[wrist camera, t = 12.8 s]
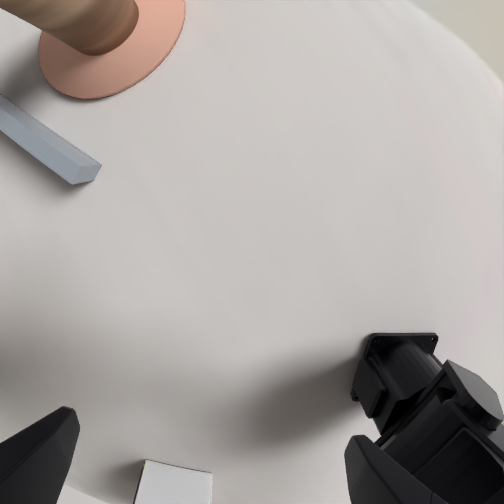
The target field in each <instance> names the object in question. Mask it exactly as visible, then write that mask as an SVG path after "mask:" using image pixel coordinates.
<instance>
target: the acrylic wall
mask: <svg viewBox="0 0 504 504" xmlns="http://www.w3.org/2000/svg"><path fill="white" fill-rule="evenodd" d="M0 130H1V131H2V132H3V133H4V134H6V135H7V136H8V137H10V138H11V139H12V140H13V141H15V142H16V143H17V144H18V145H20V146H21V147H22V148H24V149H25V150H26V151H28V152H29V153H30V154H31V155H33V156H34V157H35V158H37V159H38V160H39V161H41V162H42V163H43V164H45V165H46V166H47V167H49V168H50V169H51V170H53V171H54V172H55V173H57V174H58V175H59V176H61V177H62V178H63V179H65V180H66V181H67V182H69V183H70V184H77V183H83V182H88V181H93V180H94V179H95V177H96V175H97V173H98V171H99V169H100V167H101V166H102V165H101V164H100V163H98V162H97V161H95V160H94V159H93V158H91V157H90V156H88V155H87V154H85V153H84V152H82V151H81V150H79V149H78V148H77V147H75V146H74V145H72V144H71V143H69V142H68V141H66V140H65V139H63V138H62V137H61V136H59V135H58V134H56V133H55V132H53V131H52V130H50V129H49V128H48V127H46V126H45V125H43V124H42V123H40V122H39V121H38V120H36V119H35V118H33V117H32V116H30V115H29V114H27V113H26V112H25V111H23V110H22V109H20V108H19V107H17V106H16V105H15V104H13V103H12V102H10V101H9V100H8V99H6V98H5V97H3V96H2V95H0Z"/></svg>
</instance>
